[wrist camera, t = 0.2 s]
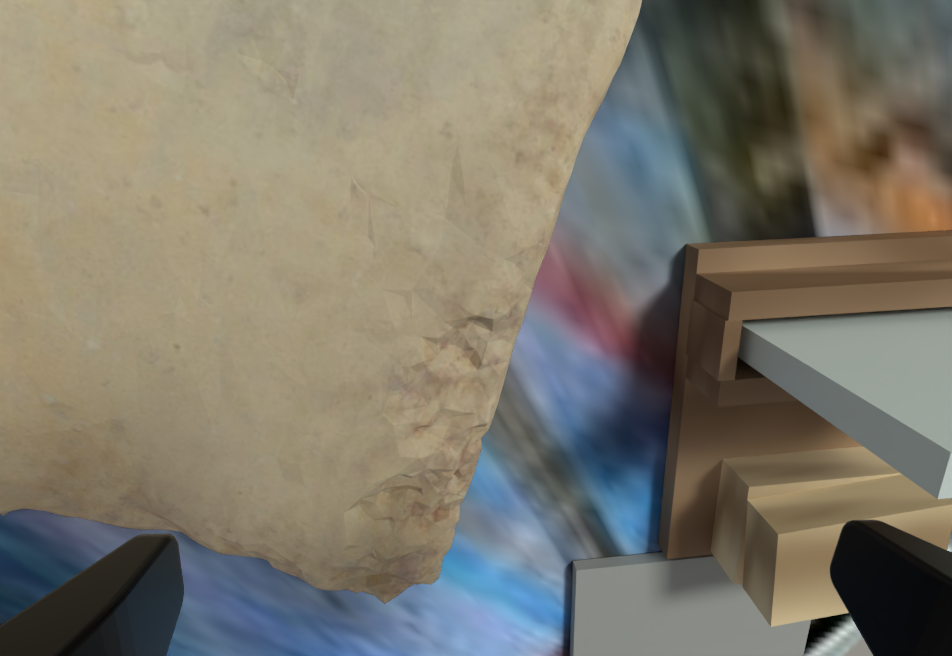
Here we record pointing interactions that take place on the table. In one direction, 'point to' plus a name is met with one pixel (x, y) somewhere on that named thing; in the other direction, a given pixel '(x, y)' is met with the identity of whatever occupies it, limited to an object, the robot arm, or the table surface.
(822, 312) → the rack
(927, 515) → the offcut upper
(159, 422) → the tan curved tapered piece
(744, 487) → the offcut lower
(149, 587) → the robot arm
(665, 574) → the mat
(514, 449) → the table surface
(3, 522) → the table surface
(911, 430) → the panel
